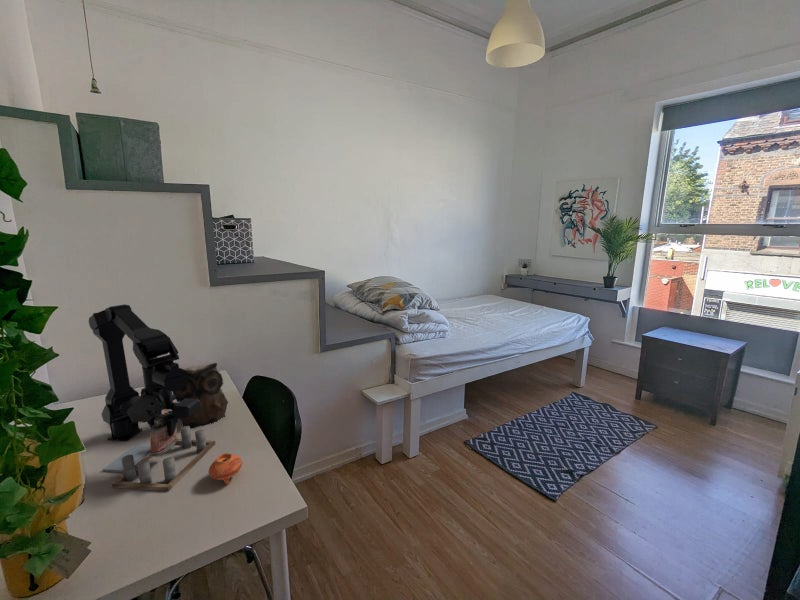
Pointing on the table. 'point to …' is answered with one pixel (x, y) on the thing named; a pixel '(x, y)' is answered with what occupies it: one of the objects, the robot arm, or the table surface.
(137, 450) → the mat
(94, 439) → the table surface
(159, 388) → the robot arm
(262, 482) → the table surface
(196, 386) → the owl
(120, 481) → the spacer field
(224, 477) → the pot
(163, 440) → the lighter
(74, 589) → the table surface
